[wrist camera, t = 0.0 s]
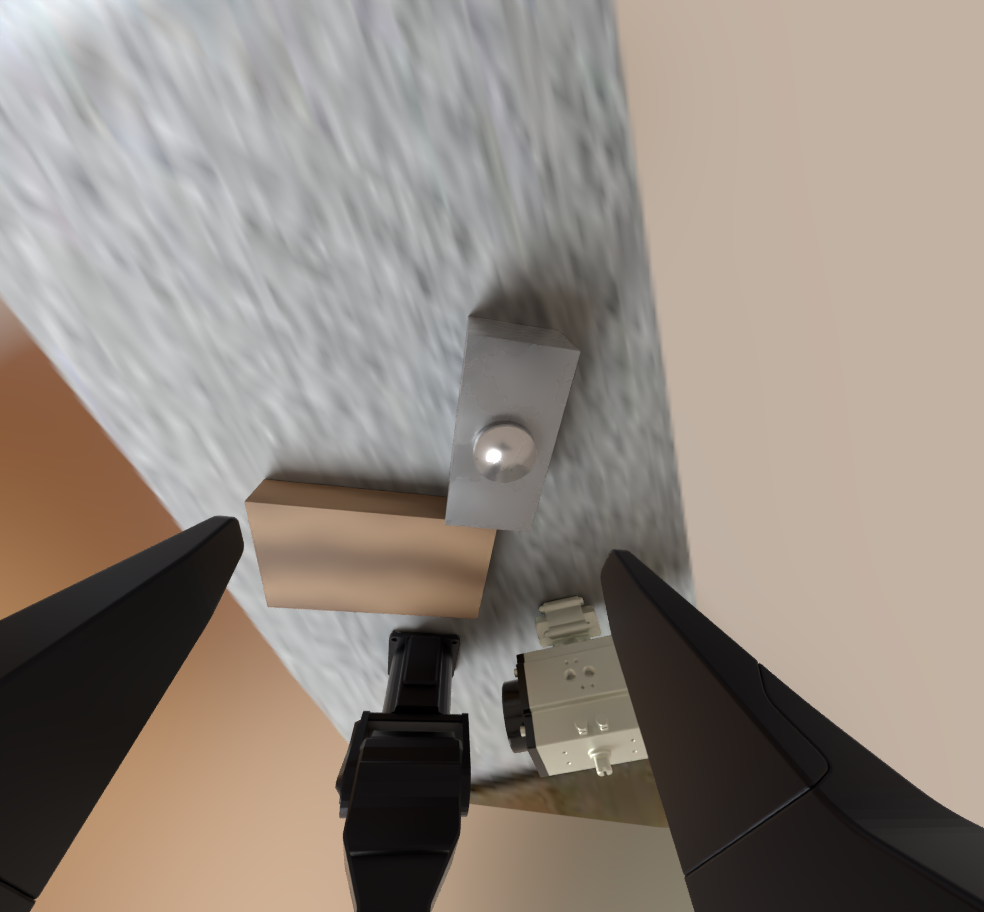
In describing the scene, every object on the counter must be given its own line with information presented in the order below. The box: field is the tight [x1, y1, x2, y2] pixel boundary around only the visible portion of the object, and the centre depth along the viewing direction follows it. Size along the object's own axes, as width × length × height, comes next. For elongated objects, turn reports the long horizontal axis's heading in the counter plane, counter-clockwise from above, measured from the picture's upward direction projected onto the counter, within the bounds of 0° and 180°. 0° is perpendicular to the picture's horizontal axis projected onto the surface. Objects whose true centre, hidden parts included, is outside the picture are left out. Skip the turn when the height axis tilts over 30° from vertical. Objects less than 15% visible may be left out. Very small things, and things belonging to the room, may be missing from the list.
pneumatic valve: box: [502, 596, 648, 777], centre depth 28 cm, size 6×12×12 cm, turn 105°
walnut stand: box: [245, 479, 497, 619], centre depth 27 cm, size 10×16×2 cm, turn 81°
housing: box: [445, 316, 581, 532], centre depth 21 cm, size 11×5×6 cm, turn 171°
